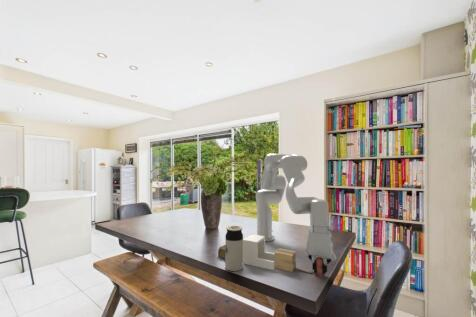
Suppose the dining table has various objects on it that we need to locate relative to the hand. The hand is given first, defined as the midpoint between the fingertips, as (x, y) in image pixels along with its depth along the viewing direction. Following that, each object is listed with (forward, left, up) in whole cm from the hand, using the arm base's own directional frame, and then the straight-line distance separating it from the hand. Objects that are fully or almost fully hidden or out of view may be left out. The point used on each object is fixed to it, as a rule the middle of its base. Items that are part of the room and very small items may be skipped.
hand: (319, 272), depth 95 cm
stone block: (+2, -43, -2) cm, 43 cm away
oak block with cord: (0, -9, -1) cm, 9 cm away
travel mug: (+12, -35, -1) cm, 37 cm away
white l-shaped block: (0, -26, -1) cm, 26 cm away
